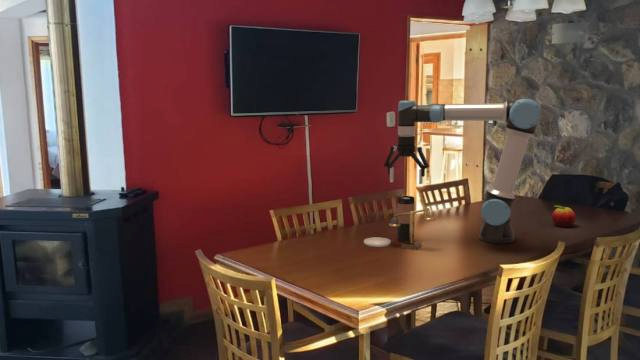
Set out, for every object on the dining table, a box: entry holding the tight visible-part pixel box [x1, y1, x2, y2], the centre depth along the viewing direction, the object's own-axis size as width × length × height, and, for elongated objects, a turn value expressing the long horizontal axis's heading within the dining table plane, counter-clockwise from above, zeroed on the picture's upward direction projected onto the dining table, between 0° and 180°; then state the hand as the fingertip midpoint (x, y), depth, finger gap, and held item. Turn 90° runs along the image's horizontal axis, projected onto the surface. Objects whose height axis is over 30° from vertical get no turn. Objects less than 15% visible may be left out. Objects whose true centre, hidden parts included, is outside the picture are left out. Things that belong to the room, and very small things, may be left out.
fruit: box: [551, 204, 576, 228], centre depth 280 cm, size 11×11×10 cm
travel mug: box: [396, 195, 415, 243], centre depth 257 cm, size 8×8×20 cm
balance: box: [388, 207, 436, 251], centre depth 246 cm, size 20×6×18 cm, turn 63°
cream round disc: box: [363, 236, 392, 248], centre depth 255 cm, size 12×12×1 cm
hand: (406, 183), depth 255 cm, fingers open, 13 cm apart
